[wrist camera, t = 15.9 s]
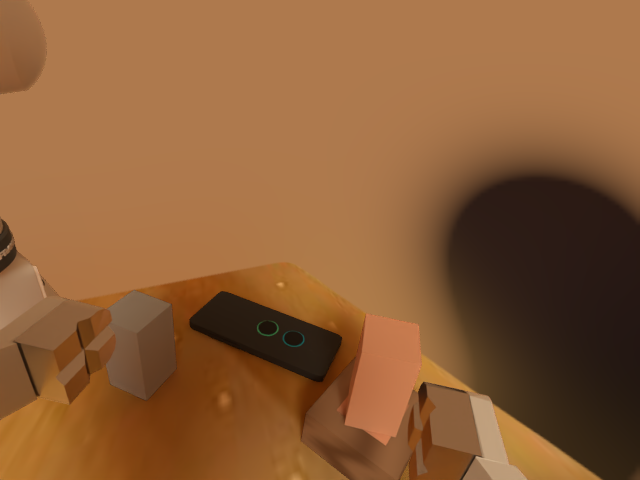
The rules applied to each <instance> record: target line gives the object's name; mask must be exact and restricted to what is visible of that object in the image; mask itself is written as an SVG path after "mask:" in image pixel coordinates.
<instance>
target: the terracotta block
mask: <svg viewBox="0 0 640 480" xmlns="http://www.w3.org/2000/svg"><path fill="white" fill-rule="evenodd" d="M421 366H422V362H421V349H420V336H419V325H418V324H414V323H409V322H404V321H400V320H395V319H390V318H385V317H381V316H376V315H371V314H366V316H365V321H364V325H363V329H362V334H361V338H360V342H359V346H358V351H357V355H356V359H355V364H354V368H353V372H352V377H351V381H350V386H349V394H348V401H347V409H346V416H345V424H344V425H346V426H351V427H355V428H359V429H363V430H367V431H371V432H375V433H380V434H384V435H388V436H392V437H396V435H397V432H398V429H399V426H400V424H401V421H402V418H403V415H404V413H405V410H406V407H407V404H408V402H409V399H410V396H411V393H412V390H413V388H414V385H415V382H416V379H417V377H418V374H419V371H420V368H421Z"/></svg>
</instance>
